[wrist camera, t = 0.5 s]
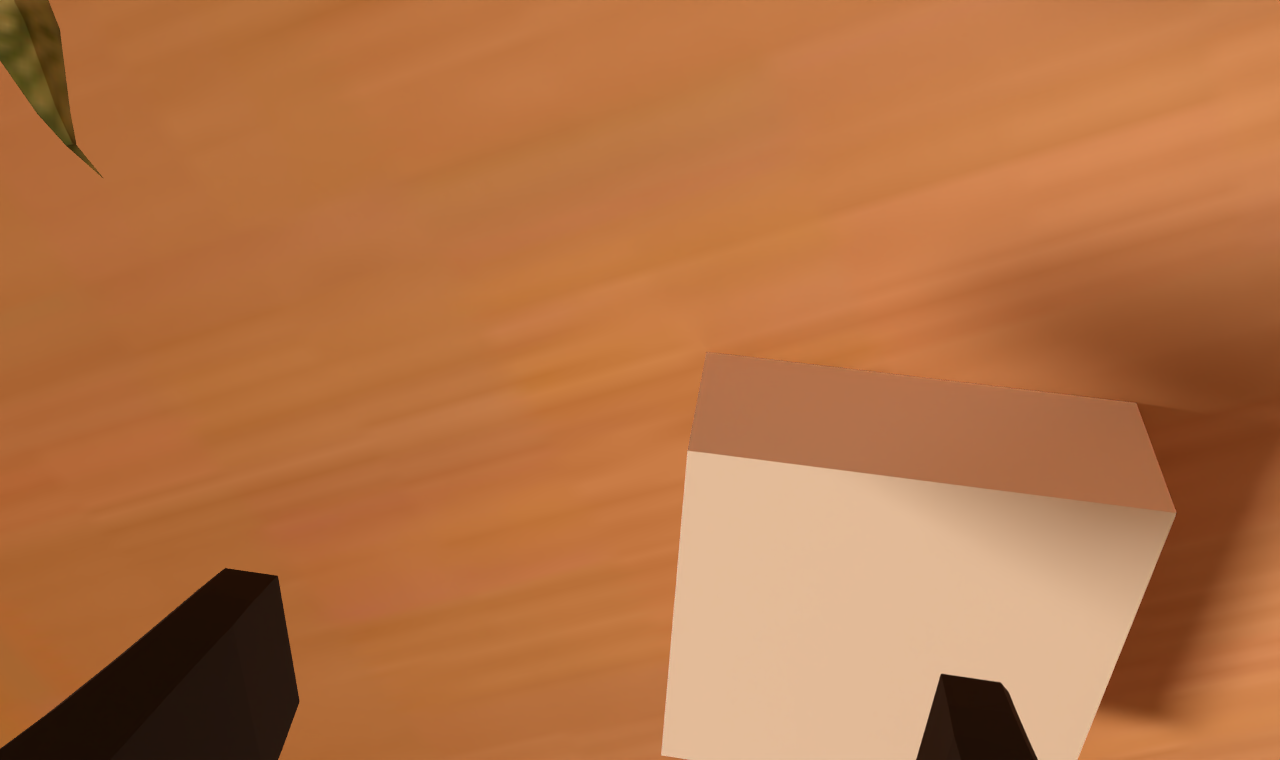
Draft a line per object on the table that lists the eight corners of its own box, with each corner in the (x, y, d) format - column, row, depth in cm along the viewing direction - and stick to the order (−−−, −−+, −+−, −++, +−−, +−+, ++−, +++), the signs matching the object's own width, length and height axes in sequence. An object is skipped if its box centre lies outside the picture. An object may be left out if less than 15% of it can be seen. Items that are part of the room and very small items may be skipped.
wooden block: (1031, 682, 26) (1054, 815, 23) (681, 632, 27) (661, 755, 24) (1132, 392, 21) (1176, 513, 19) (708, 342, 22) (687, 450, 19)
